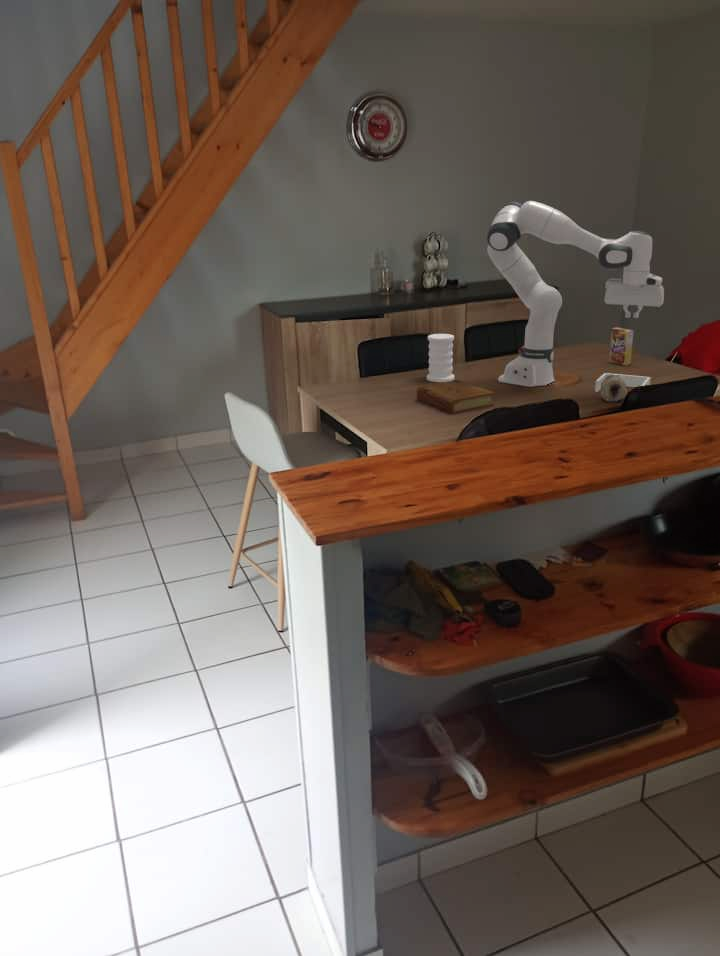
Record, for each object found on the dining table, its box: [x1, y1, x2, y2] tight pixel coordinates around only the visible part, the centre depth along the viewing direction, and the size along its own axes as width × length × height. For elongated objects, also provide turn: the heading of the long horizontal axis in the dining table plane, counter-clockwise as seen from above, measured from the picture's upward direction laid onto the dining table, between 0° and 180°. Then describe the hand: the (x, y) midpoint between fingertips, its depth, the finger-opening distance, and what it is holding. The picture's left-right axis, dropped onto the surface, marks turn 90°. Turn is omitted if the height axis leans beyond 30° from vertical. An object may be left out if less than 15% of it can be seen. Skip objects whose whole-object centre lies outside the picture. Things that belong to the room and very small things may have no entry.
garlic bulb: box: [600, 373, 628, 403], centre depth 275 cm, size 9×8×10 cm
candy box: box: [609, 326, 634, 366], centre depth 325 cm, size 9×4×15 cm, turn 28°
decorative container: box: [426, 333, 455, 383], centre depth 310 cm, size 12×12×18 cm
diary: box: [416, 379, 495, 415], centre depth 278 cm, size 23×19×6 cm
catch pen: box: [594, 372, 652, 393], centre depth 287 cm, size 18×14×4 cm
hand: (631, 317), depth 271 cm, fingers closed
